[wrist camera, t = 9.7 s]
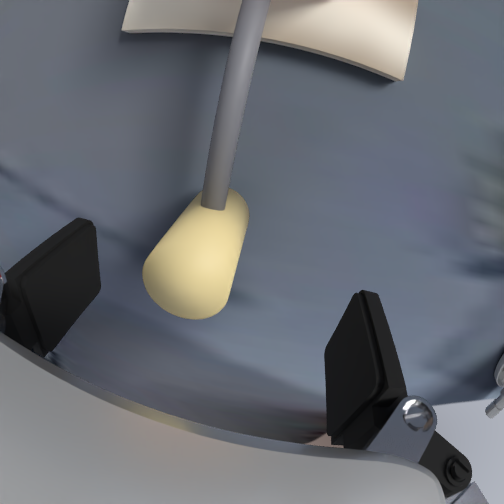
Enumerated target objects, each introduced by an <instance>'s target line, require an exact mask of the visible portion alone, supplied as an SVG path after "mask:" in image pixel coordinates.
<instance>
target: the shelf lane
mask: <svg viewBox="0 0 504 504" xmlns="http://www.w3.org/2000/svg"><path fill="white" fill-rule="evenodd" d="M241 3H242V0H129V4H128V7H127V11H126V14H125V18H124V22H123V26H122V31H125V32H128V33H153V32H169V33H195V34H209V35H220V36H229V37H233V34H234V30H235V26H236V22H237V18H238V14H239V11H240V7H241ZM417 4H418V0H271V2H270V6H269V9H268V13H267V17H266V21H265V25H264V29H263V33H262V37H261V41H262V42H268V43H273V44H278V45H283V46H288V47H292V48H296V49H300V50H304V51H308V52H312V53H316V54H319V55H323V56H326V57H330V58H333V59H336V60H339V61H343V62H346V63H349V64H352V65H355V66H357V67H360V68H363V69H366V70H368V71H371V72H374V73H376V74H379V75H381V76H384V77H386V78H389V79H391V80H393V81H403V78H404V74H405V70H406V65H407V61H408V56H409V51H410V46H411V41H412V35H413V30H414V24H415V18H416V11H417Z"/></svg>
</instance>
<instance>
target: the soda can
mask: <svg viewBox="0 0 504 504" xmlns="http://www.w3.org/2000/svg"><path fill="white" fill-rule="evenodd" d="M0 278H1V279H2V281H3V283H4V284H5V283H6V282H7V280H6V277H5V274H4V272H3V270H2V268H1V267H0Z"/></svg>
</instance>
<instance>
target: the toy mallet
mask: <svg viewBox="0 0 504 504" xmlns="http://www.w3.org/2000/svg"><path fill="white" fill-rule="evenodd" d="M270 2H271V0H242V3H241V7H240V11H239V14H238V18H237V22H236V26H235V30H234V34H233V38H232V42H231V46H230V51H229V55H228V59H227V64H226V68H225V73H224V77H223V82H222V86H221V91H220V96H219V101H218V106H217V111H216V116H215V121H214V127H213V132H212V138H211V143H210V149H209V155H208V161H207V167H206V173H205V179H204V185H203V190H202V191H201V192H200V193H199V194H198V195H197V196H196V197H195V198H194V199H193V200H192V202H191V203H190V204H189V205H188V206H187V208H186V209H185V210H184V211H183V213H182V214H181V215H180V216H179V218H178V219H177V220H176V221H175V222H174V224H173V225H172V226H171V228H170V229H169V230H168V231H167V233H166V234H165V235H164V236H163V238H162V239H161V240H160V242H159V243H158V244H157V245H156V247H155V248H154V249H153V251H152V252H151V253H150V255H149V256H148V257H147V259H146V261H145V263H144V266H143V272H142V276H143V282H144V285H145V288H146V290H147V292H148V294H149V295H150V297H151V298H152V299H153V300H154V301H155V302H156V303H157V304H158V305H159V306H160V307H161V308H163V309H164V310H166V311H167V312H169V313H171V314H173V315H175V316H178V317H181V318H186V319H204V318H208V317H211V316H213V315H215V314H217V313H218V312H219V311H220V310H221V309H223V307H224V306H225V305H226V303H227V301H228V297H229V294H230V290H231V286H232V282H233V278H234V275H235V271H236V267H237V263H238V259H239V256H240V252H241V248H242V244H243V241H244V237H245V233H246V230H247V226H248V222H249V209H248V206H247V204H246V202H245V200H244V199H243V198H242V196H241V195H240V194H239V193H237V192H236V191H234V190H232V189H230V188H229V185H230V179H231V174H232V169H233V164H234V159H235V154H236V149H237V144H238V139H239V134H240V130H241V125H242V120H243V115H244V111H245V106H246V102H247V97H248V93H249V88H250V84H251V79H252V75H253V71H254V66H255V62H256V58H257V54H258V49H259V45H260V41H261V37H262V33H263V29H264V25H265V21H266V17H267V13H268V9H269V6H270Z"/></svg>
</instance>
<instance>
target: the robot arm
mask: <svg viewBox="0 0 504 504" xmlns="http://www.w3.org/2000/svg"><path fill="white" fill-rule="evenodd" d="M5 277H6V280H7V282H6V283H5V284H4V283H3V281H2V279H1V278H0V504H488V502H487V500H486V499H485V497H484V495H483V494H482V493H481V491H480V489H479V487H478V486H477V484H476V483H475V482H472V483H470V481H471V478H472V468H471V464H470V462H469V460H468V459H467V458H466V457H465V456H464V455H463V454H462V453H461V452H459V451H458V450H457V449H456V448H455V447H454V446H452V445H451V444H450V443H449V442H448V441H446V440H445V439H444V438H443V437H442V436H441V435H440V434H438V433H437V432H436V431H435V429H436V425H437V416H436V413H435V411H434V409H433V407H432V406H431V405H430V404H429V403H428V402H427V401H426V400H425V399H423V398H421V397H418V396H408V395H407V391H406V385H405V381H404V377H403V374H402V370H401V366H400V362H399V359H398V355H397V352H396V348H395V345H394V342H393V338H392V335H391V332H390V329H389V325H388V322H387V319H386V316H385V313H384V310H383V307H382V304H381V301H380V298H379V296H378V294H377V293H373V292H369V291H365V290H361V291H360V292H359V293H355V294H354V295H353V297H352V299H351V301H350V303H349V305H348V307H347V309H346V311H345V312H344V314H343V316H342V318H341V320H340V322H339V324H338V326H337V328H336V330H335V331H334V333H333V335H332V337H331V339H330V341H329V342H328V344H327V346H326V349H325V353H324V359H325V379H326V408H327V434H328V436H331V444H332V445H344V448H334V447H324V446H313V445H306V444H298V443H291V442H285V441H278V440H272V439H266V438H260V437H255V436H250V435H245V434H240V433H235V432H231V431H227V430H222V429H218V428H214V427H210V426H207V425H203V424H199V423H196V422H192V421H189V420H185V419H182V418H179V417H176V416H173V415H169V414H166V413H163V412H160V411H158V410H155V409H152V408H149V407H146V406H144V405H141V404H138V403H136V402H133V401H131V400H128V399H125V398H123V397H121V396H118V395H116V394H113V393H111V392H109V391H107V390H104V389H102V388H100V387H98V386H95V385H93V384H91V383H89V382H87V381H85V380H83V379H81V378H79V377H77V376H75V375H73V374H71V373H69V372H67V371H65V370H63V369H61V368H59V367H57V366H56V365H54V364H52V363H50V362H48V361H47V360H45V359H43V358H41V357H40V356H38V355H36V354H35V353H33V352H31V351H30V350H31V349H32V348H33V350H34V352H36V353H38V354H39V355H41V356H43V357H45V356H46V355H47V353H48V352H49V351H52V350H53V349H54V348H55V347H56V346H57V344H58V343H59V342H60V340H61V339H62V338H63V336H64V335H65V334H66V333H67V331H68V330H69V329H70V327H71V326H72V325H73V324H74V322H75V321H76V320H77V319H78V317H79V316H80V315H81V314H82V313H83V311H84V310H85V309H86V308H87V306H88V305H89V304H90V303H91V302H92V300H93V299H94V298H95V297H96V296H97V295H98V293H99V291H100V289H101V281H100V272H99V262H98V250H97V236H96V228H95V226H93V223H92V221H90V220H86V219H83V218H76V219H75V220H73V221H72V222H70V223H69V224H68V225H66V226H65V227H63V228H62V229H61V230H59V231H58V232H56V233H55V234H54V235H52V236H51V237H50V238H48V239H47V240H46V241H44V242H43V243H42V244H40V245H39V246H38V247H36V248H35V249H34V250H33V251H31V252H30V253H29V254H27V255H26V256H25V257H24V258H23V259H21V260H20V261H19V262H18V263H16V264H15V265H14V266H13V267H12V268H10V269H9V270H8V271H7V272H6V273H5ZM494 378H495V380H496V382H497V384H498V385H499V386H501V387H504V354H503V355H502V357H501V358H500V360H499V362H498V364H497V366H496V369H495V373H494ZM503 408H504V388H503V389H502V390H501V394H500V396H499V397H498V398H497V399H495V400H494V401H493V402H492V403H491V404H490V405H488V406H487V407H486V410H485V412H486V415H487V416H488V417H489V418H493V417H494V416H496V415H497V414H498V413H499V412H500V411H501V410H502V409H503Z"/></svg>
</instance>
